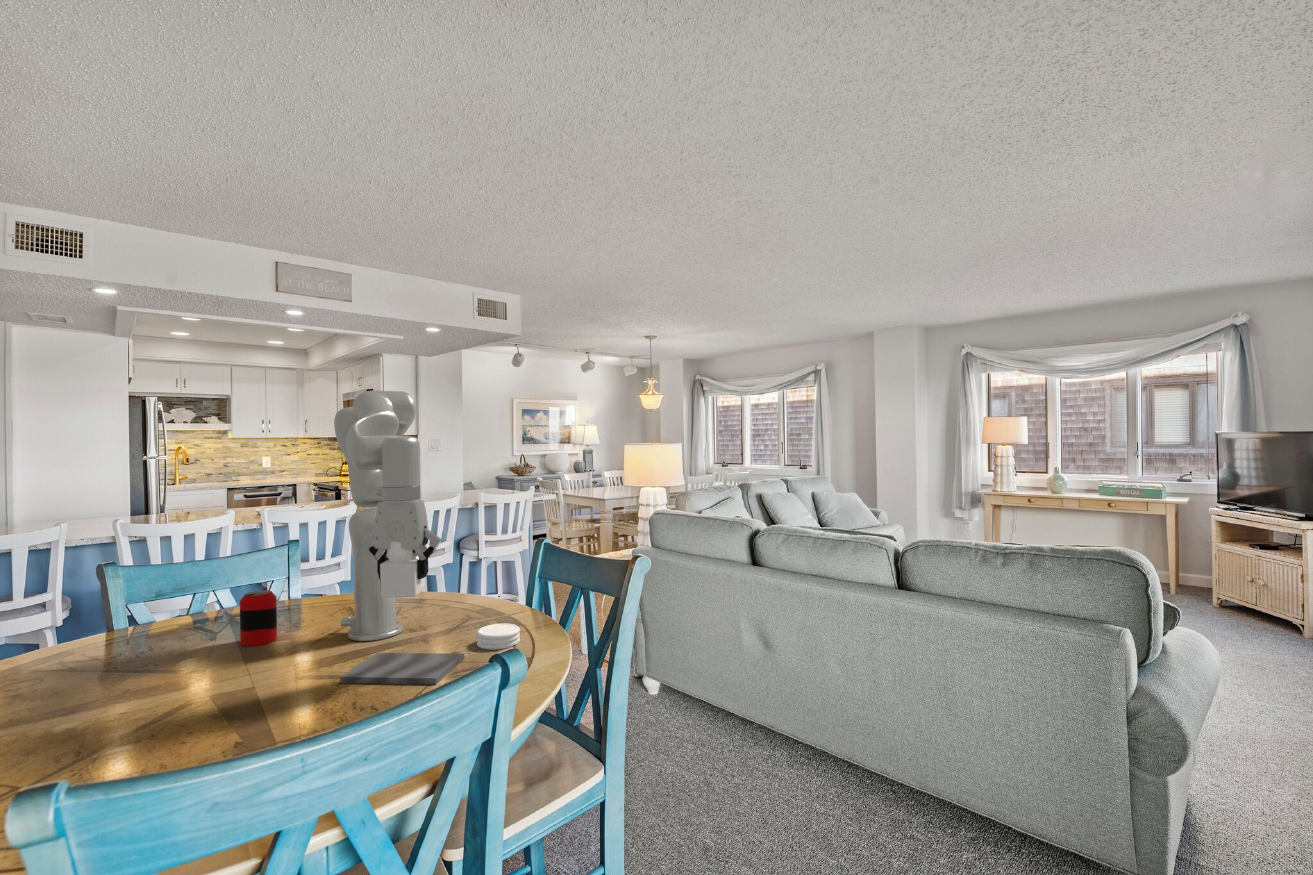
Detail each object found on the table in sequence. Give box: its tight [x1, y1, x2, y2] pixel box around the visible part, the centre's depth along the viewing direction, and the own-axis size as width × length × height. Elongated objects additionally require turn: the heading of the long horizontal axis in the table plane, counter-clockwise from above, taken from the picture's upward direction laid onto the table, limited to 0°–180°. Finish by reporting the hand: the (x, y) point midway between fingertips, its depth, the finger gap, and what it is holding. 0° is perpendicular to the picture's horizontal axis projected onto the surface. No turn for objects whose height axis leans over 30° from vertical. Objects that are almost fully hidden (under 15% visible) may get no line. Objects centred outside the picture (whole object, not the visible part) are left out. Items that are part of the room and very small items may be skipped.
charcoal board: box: [339, 652, 465, 685], centre depth 130 cm, size 20×14×1 cm
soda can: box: [239, 589, 278, 648], centre depth 151 cm, size 8×8×12 cm
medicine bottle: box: [380, 542, 426, 599], centre depth 131 cm, size 7×7×12 cm
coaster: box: [476, 622, 521, 651], centre depth 147 cm, size 10×10×4 cm
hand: (403, 577), depth 131 cm, fingers closed on medicine bottle, 7 cm apart
